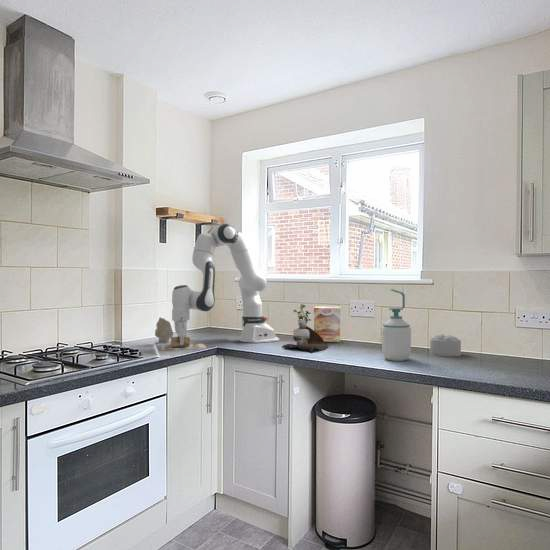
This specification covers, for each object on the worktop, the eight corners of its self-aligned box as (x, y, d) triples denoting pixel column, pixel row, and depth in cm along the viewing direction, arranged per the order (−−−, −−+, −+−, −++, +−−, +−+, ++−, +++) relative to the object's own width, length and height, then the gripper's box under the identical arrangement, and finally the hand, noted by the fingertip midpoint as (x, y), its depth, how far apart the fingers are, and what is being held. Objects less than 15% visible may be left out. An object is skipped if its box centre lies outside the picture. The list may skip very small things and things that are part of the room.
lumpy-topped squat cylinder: (463, 356, 194) (463, 337, 194) (435, 356, 194) (434, 337, 194) (453, 352, 205) (453, 334, 205) (426, 352, 204) (426, 334, 204)
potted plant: (280, 354, 216) (280, 306, 223) (301, 357, 230) (301, 312, 238) (313, 351, 204) (312, 300, 212) (333, 355, 218) (331, 308, 226)
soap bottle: (383, 355, 196) (383, 288, 196) (411, 357, 192) (411, 288, 192) (380, 360, 185) (379, 289, 185) (410, 362, 180) (409, 289, 180)
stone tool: (175, 344, 235) (174, 317, 235) (172, 345, 231) (171, 317, 231) (156, 343, 237) (156, 316, 237) (153, 344, 234) (153, 317, 234)
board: (202, 345, 228) (202, 343, 228) (206, 349, 216) (206, 347, 216) (160, 348, 221) (160, 345, 221) (162, 352, 209) (162, 350, 209)
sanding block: (188, 344, 222) (188, 336, 222) (189, 346, 217) (189, 337, 217) (170, 345, 219) (170, 337, 219) (171, 347, 214) (171, 338, 214)
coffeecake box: (313, 341, 240) (313, 307, 240) (314, 339, 247) (314, 306, 247) (340, 342, 238) (340, 307, 238) (340, 340, 245) (340, 306, 245)
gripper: (189, 318, 209) (189, 346, 209) (184, 315, 228) (184, 340, 228) (176, 319, 207) (176, 347, 207) (172, 315, 226) (172, 341, 226)
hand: (180, 343), depth 218 cm, fingers closed on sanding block, 5 cm apart
